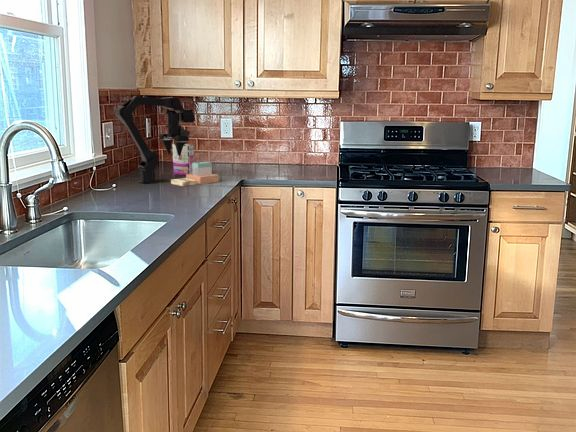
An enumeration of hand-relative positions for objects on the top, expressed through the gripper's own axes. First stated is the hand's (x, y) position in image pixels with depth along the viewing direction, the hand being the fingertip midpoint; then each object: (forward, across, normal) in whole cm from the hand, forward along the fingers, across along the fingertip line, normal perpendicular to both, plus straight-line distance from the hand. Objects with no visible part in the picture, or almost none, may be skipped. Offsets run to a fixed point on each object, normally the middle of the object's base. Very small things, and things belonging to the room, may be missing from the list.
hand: (174, 154), depth 283 cm
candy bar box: (+13, +13, -14) cm, 23 cm away
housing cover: (+5, -12, -8) cm, 16 cm away
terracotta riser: (+13, -12, -8) cm, 20 cm away
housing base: (+9, -12, -8) cm, 17 cm away
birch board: (+13, -12, +3) cm, 18 cm away
